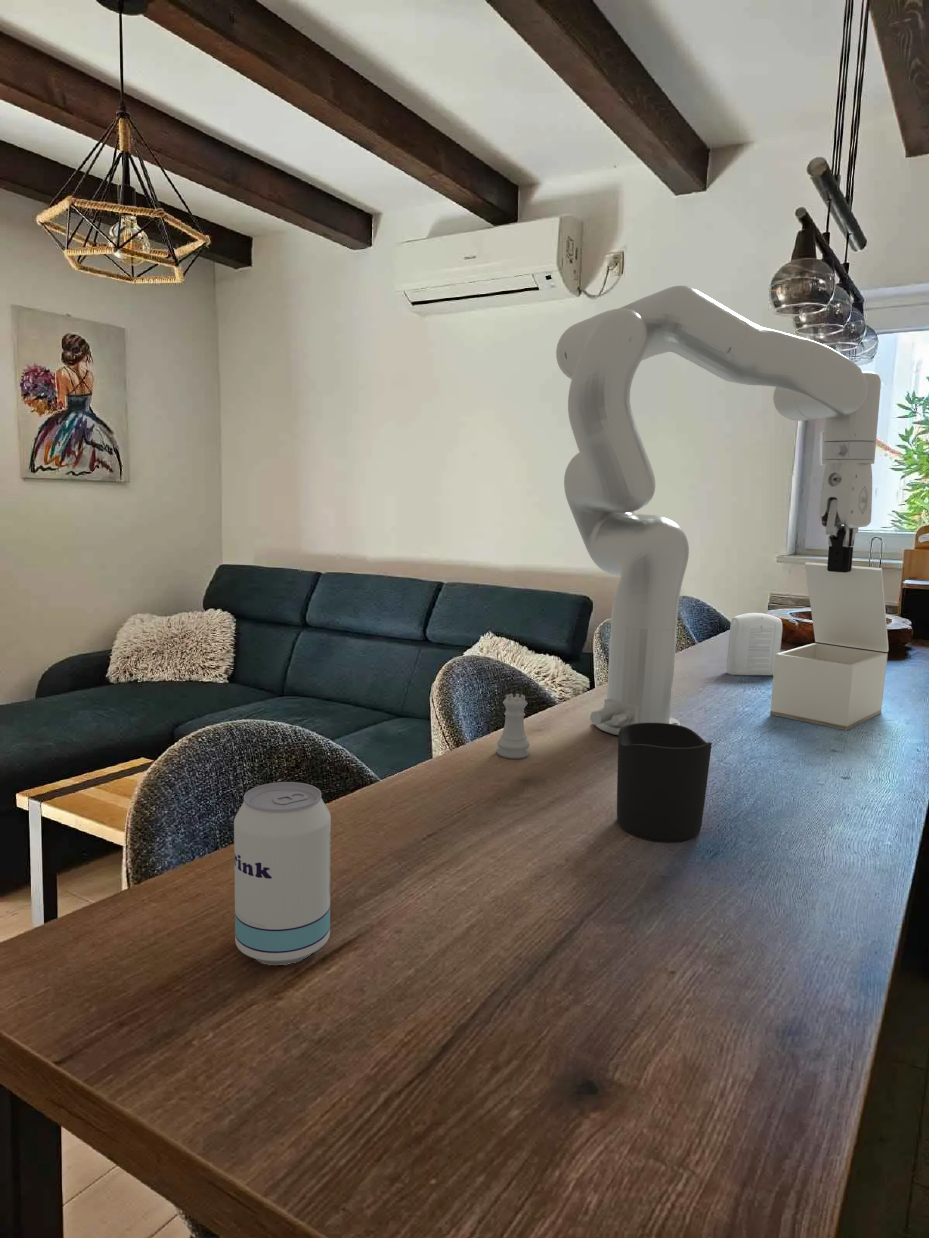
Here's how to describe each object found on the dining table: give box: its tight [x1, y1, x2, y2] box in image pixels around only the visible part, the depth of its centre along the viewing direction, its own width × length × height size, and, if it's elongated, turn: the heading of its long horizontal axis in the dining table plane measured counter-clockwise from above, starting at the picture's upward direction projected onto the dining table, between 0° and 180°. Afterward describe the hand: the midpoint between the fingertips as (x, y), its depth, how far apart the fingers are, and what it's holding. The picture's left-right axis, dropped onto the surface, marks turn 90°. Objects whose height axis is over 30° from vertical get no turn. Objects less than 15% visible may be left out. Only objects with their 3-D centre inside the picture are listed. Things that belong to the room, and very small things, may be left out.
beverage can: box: [233, 781, 332, 965], centre depth 62 cm, size 7×7×12 cm
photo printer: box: [726, 612, 784, 677], centre depth 166 cm, size 10×4×12 cm, turn 98°
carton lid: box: [804, 561, 890, 653], centre depth 138 cm, size 16×12×1 cm
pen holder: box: [616, 723, 713, 843], centre depth 87 cm, size 9×9×10 cm
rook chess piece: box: [495, 693, 531, 760], centre depth 110 cm, size 4×4×8 cm
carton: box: [770, 642, 889, 731], centre depth 137 cm, size 16×12×10 cm
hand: (839, 571), depth 133 cm, fingers closed
